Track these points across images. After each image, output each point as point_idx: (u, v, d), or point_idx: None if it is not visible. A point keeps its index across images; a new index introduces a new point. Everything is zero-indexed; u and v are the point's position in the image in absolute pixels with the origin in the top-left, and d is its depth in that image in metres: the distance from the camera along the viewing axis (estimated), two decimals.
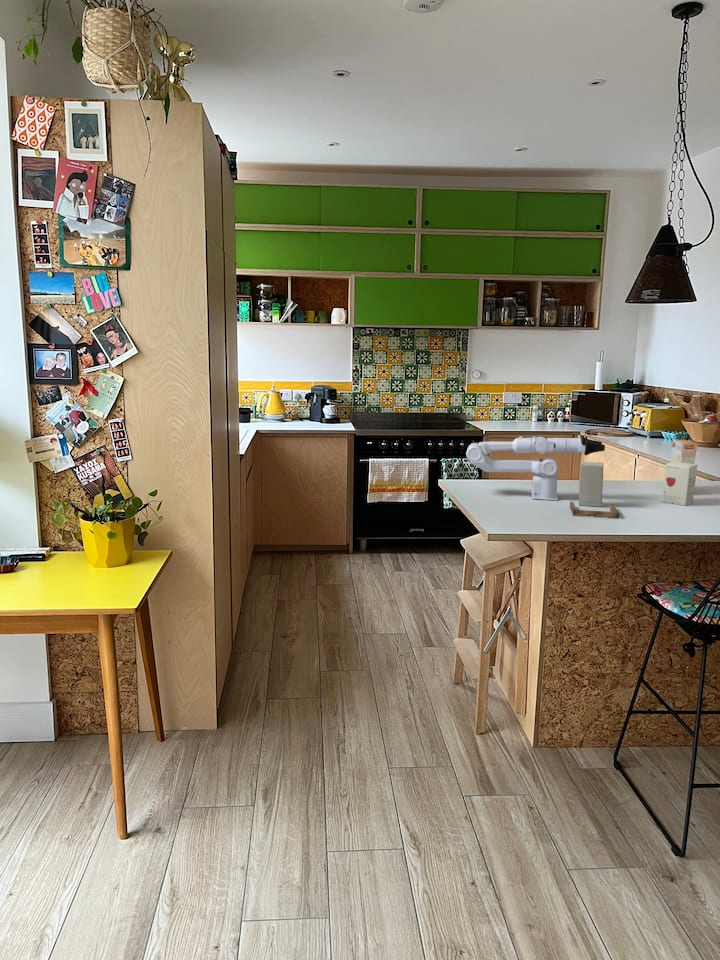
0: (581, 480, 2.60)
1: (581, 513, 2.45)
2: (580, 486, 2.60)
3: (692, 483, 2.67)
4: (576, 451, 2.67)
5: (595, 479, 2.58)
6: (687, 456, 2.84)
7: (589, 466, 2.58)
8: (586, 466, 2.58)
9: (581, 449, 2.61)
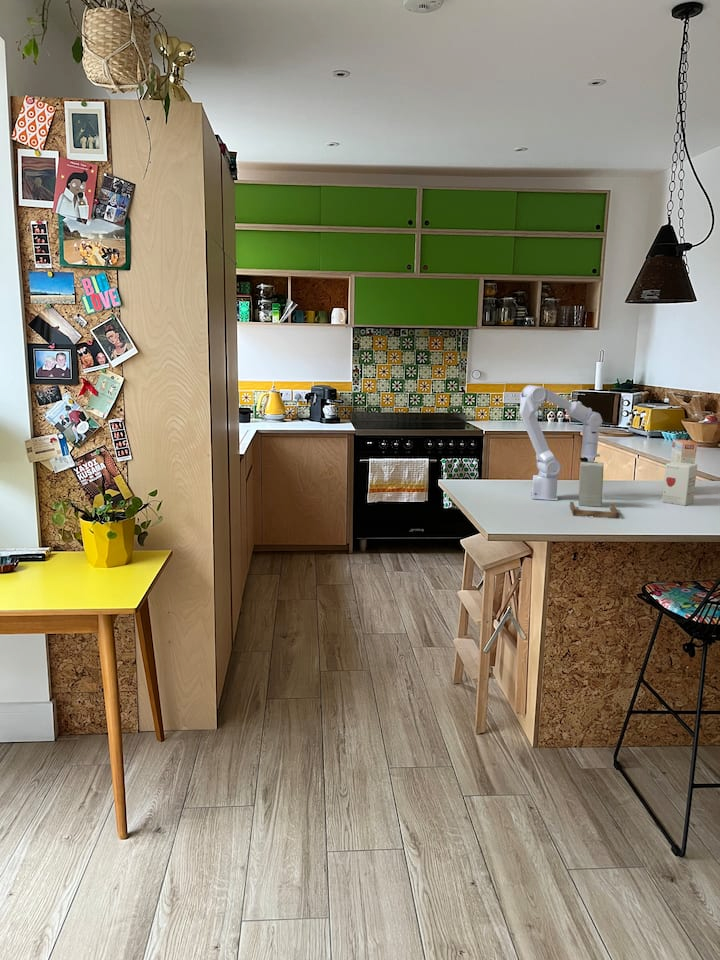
0: (581, 480, 2.60)
1: (581, 513, 2.45)
2: (580, 486, 2.60)
3: (692, 483, 2.67)
4: (584, 453, 2.71)
5: (595, 479, 2.58)
6: (687, 456, 2.84)
7: (589, 466, 2.58)
8: (586, 466, 2.58)
9: (590, 458, 2.66)
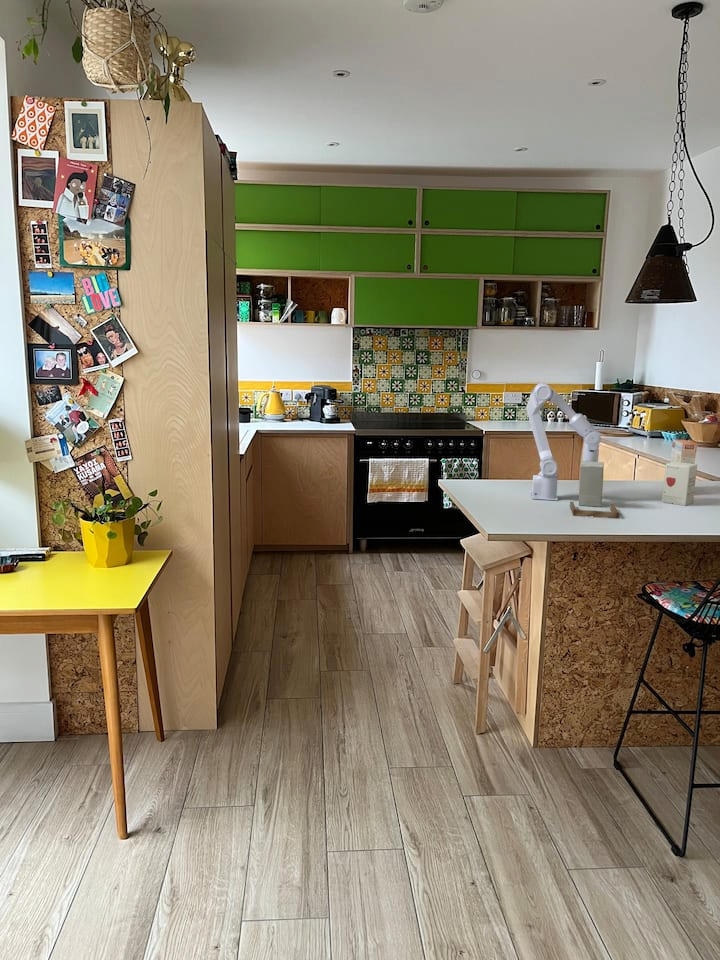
0: (581, 481, 2.59)
1: (581, 513, 2.45)
2: (580, 486, 2.60)
3: (692, 483, 2.67)
4: None
5: (595, 480, 2.57)
6: (687, 456, 2.84)
7: (589, 467, 2.56)
8: (586, 467, 2.57)
9: None
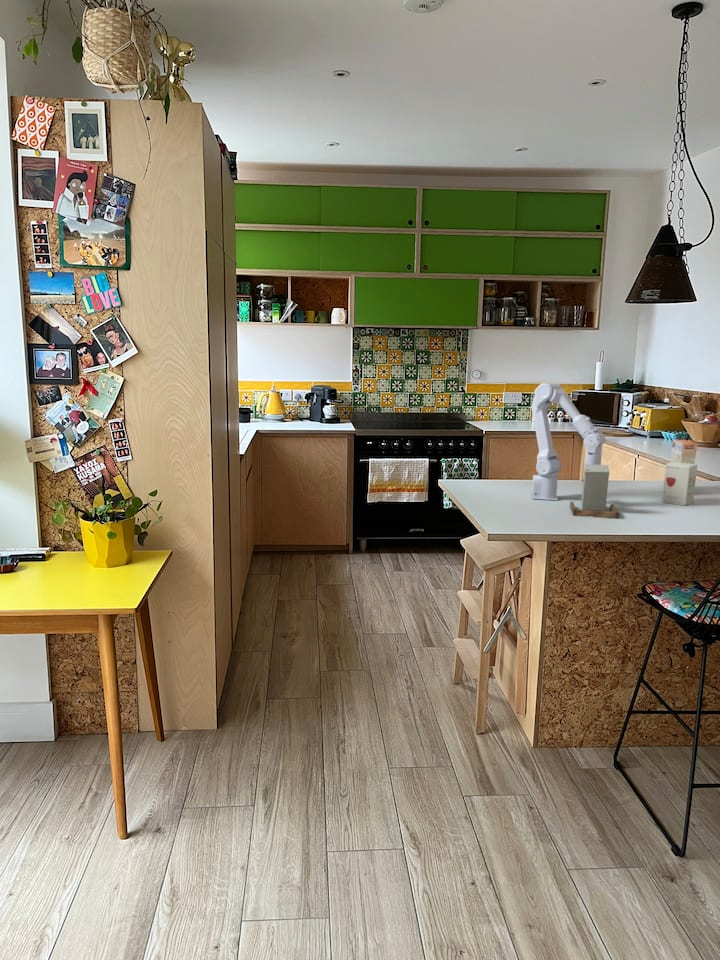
0: (586, 486, 2.50)
1: (581, 513, 2.45)
2: (584, 491, 2.51)
3: (692, 483, 2.67)
4: None
5: (600, 485, 2.49)
6: (687, 456, 2.84)
7: (594, 472, 2.47)
8: (591, 472, 2.48)
9: None
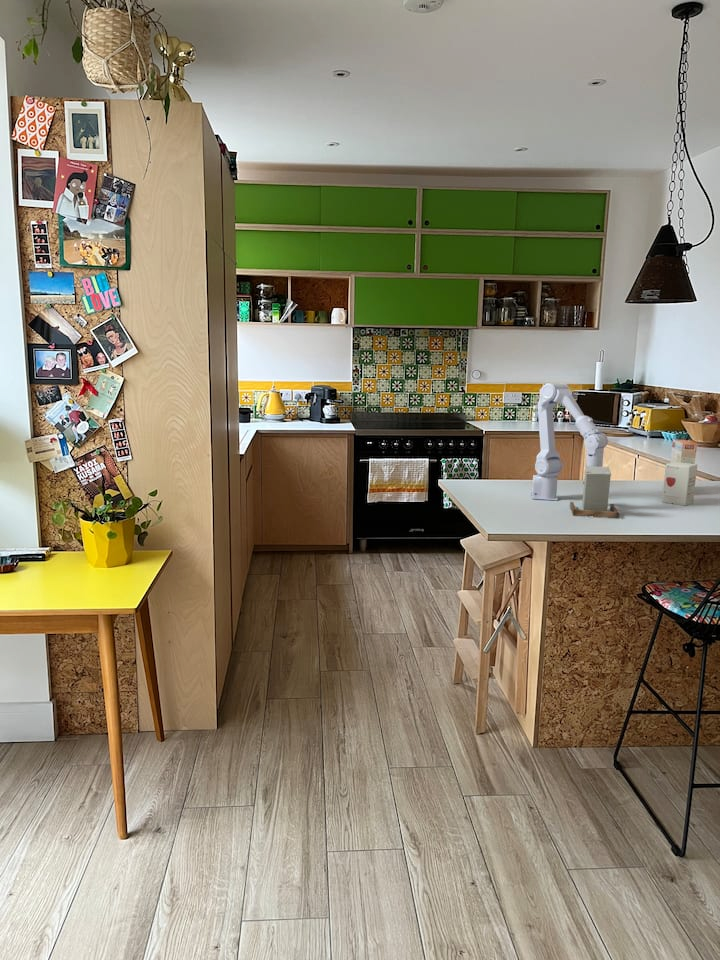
0: (587, 488, 2.46)
1: (581, 513, 2.45)
2: (585, 494, 2.47)
3: (692, 483, 2.67)
4: None
5: (602, 487, 2.45)
6: (687, 456, 2.84)
7: (596, 474, 2.43)
8: (593, 474, 2.43)
9: None
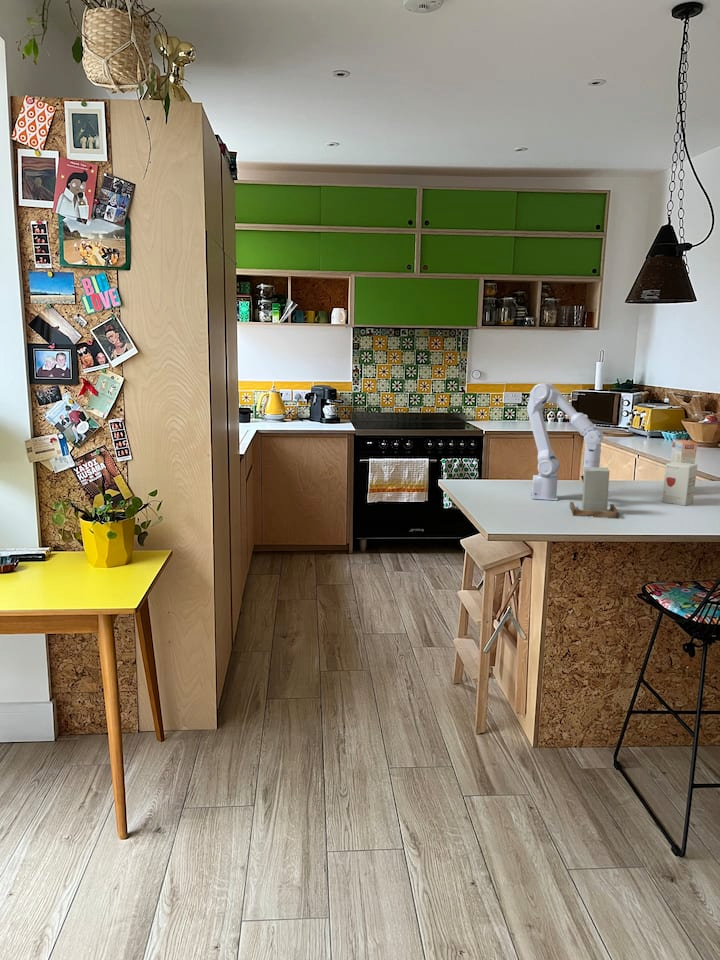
0: (586, 486, 2.48)
1: (581, 513, 2.45)
2: (585, 492, 2.49)
3: (692, 483, 2.67)
4: None
5: (601, 485, 2.47)
6: (687, 456, 2.84)
7: (595, 471, 2.46)
8: (591, 472, 2.47)
9: None
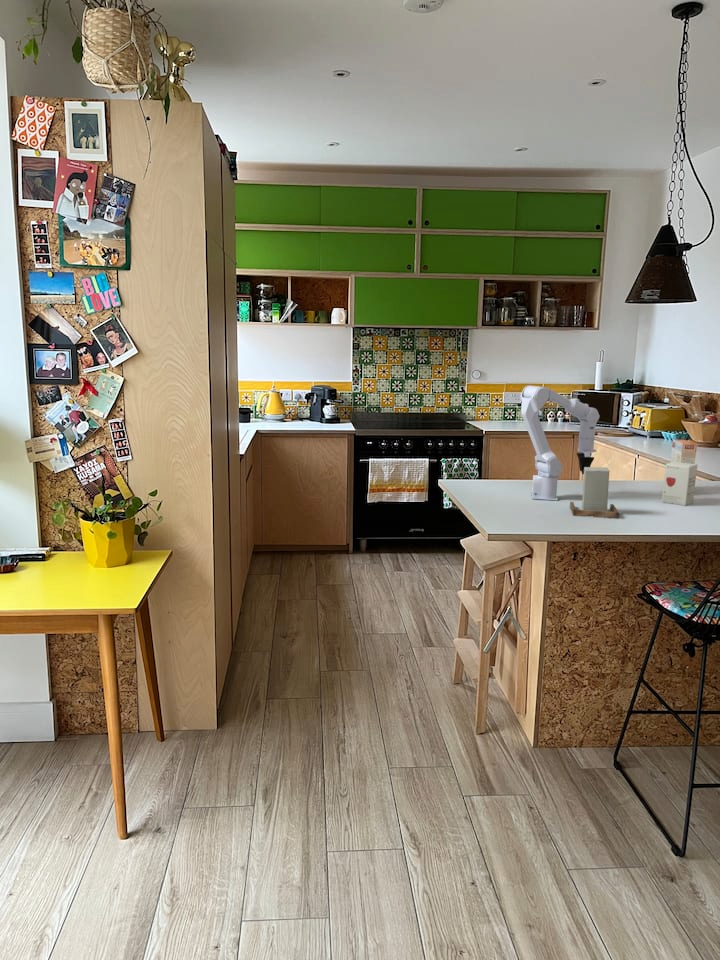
0: (586, 486, 2.48)
1: (581, 513, 2.45)
2: (585, 492, 2.49)
3: (692, 483, 2.67)
4: (581, 448, 2.74)
5: (601, 485, 2.47)
6: (687, 456, 2.84)
7: (595, 471, 2.46)
8: (591, 471, 2.47)
9: (586, 453, 2.69)
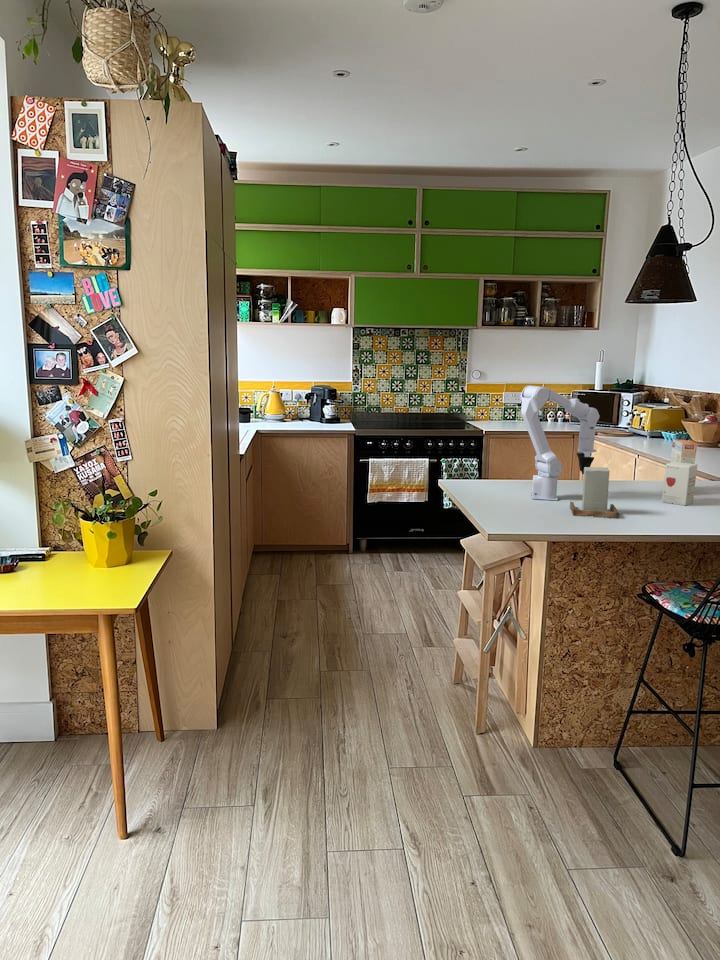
0: (586, 486, 2.48)
1: (581, 513, 2.45)
2: (585, 492, 2.49)
3: (692, 483, 2.67)
4: (581, 448, 2.74)
5: (601, 485, 2.47)
6: (687, 456, 2.84)
7: (595, 471, 2.46)
8: (591, 471, 2.47)
9: (586, 453, 2.69)
